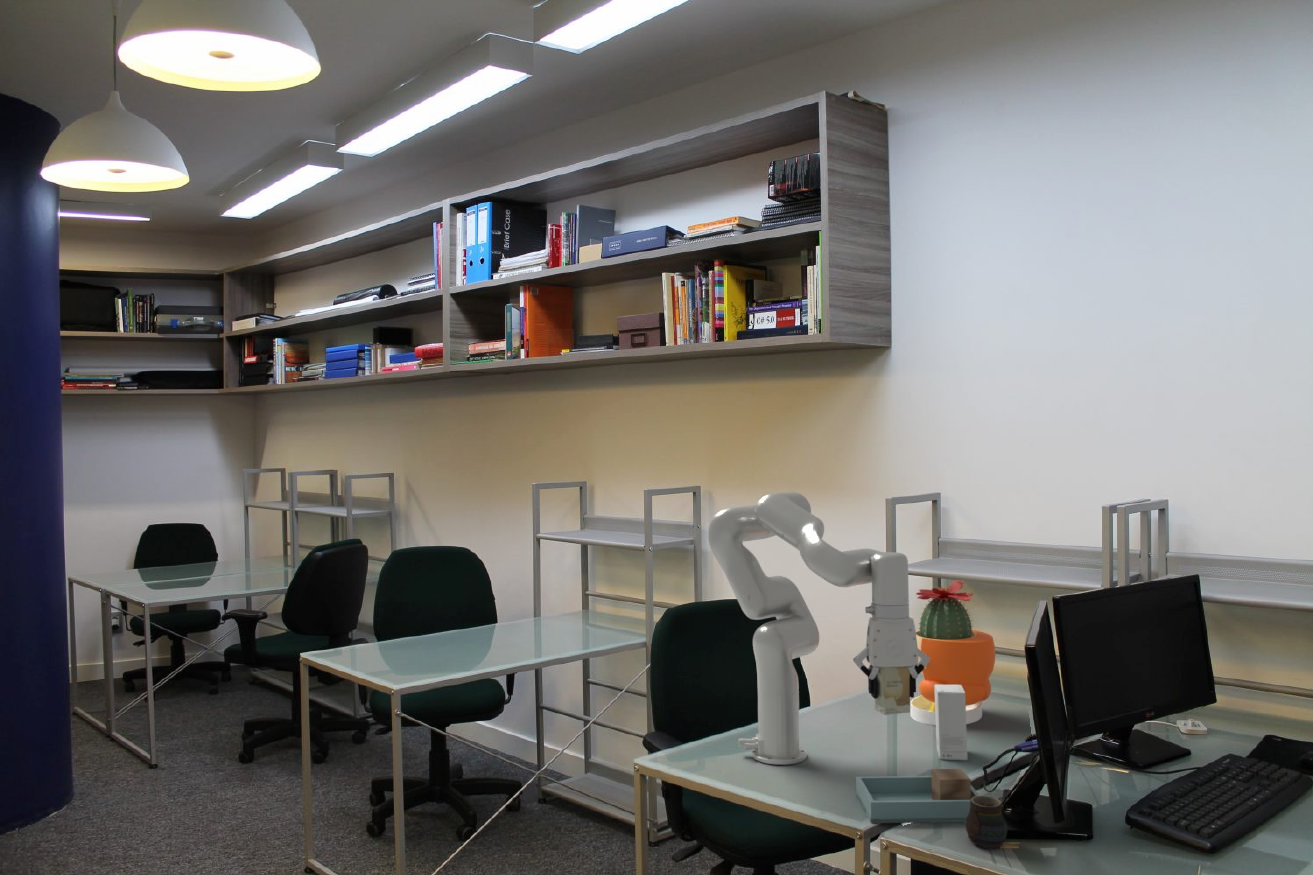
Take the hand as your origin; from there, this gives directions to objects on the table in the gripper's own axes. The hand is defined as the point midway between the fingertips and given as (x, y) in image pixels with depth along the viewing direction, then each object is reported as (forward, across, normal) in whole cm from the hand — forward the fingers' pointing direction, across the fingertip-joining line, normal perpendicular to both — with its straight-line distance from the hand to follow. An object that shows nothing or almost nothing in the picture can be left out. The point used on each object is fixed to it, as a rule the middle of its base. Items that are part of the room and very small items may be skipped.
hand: (892, 695), depth 204 cm
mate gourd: (+20, +10, -27) cm, 35 cm away
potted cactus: (+20, +30, +51) cm, 63 cm away
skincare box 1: (+4, 0, 0) cm, 4 cm away
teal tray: (+20, +2, -10) cm, 22 cm away
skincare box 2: (+20, +19, +22) cm, 35 cm away
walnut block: (+19, +9, -10) cm, 23 cm away
